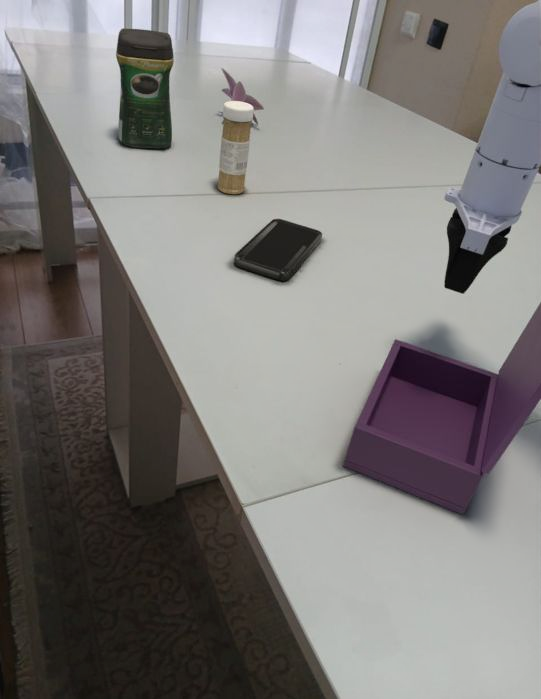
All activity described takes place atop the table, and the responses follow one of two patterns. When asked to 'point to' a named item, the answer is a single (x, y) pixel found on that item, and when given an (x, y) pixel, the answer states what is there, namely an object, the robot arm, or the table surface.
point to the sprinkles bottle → (234, 146)
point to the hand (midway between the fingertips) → (455, 285)
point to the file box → (425, 426)
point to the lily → (240, 94)
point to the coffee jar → (145, 88)
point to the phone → (278, 249)
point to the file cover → (515, 392)
